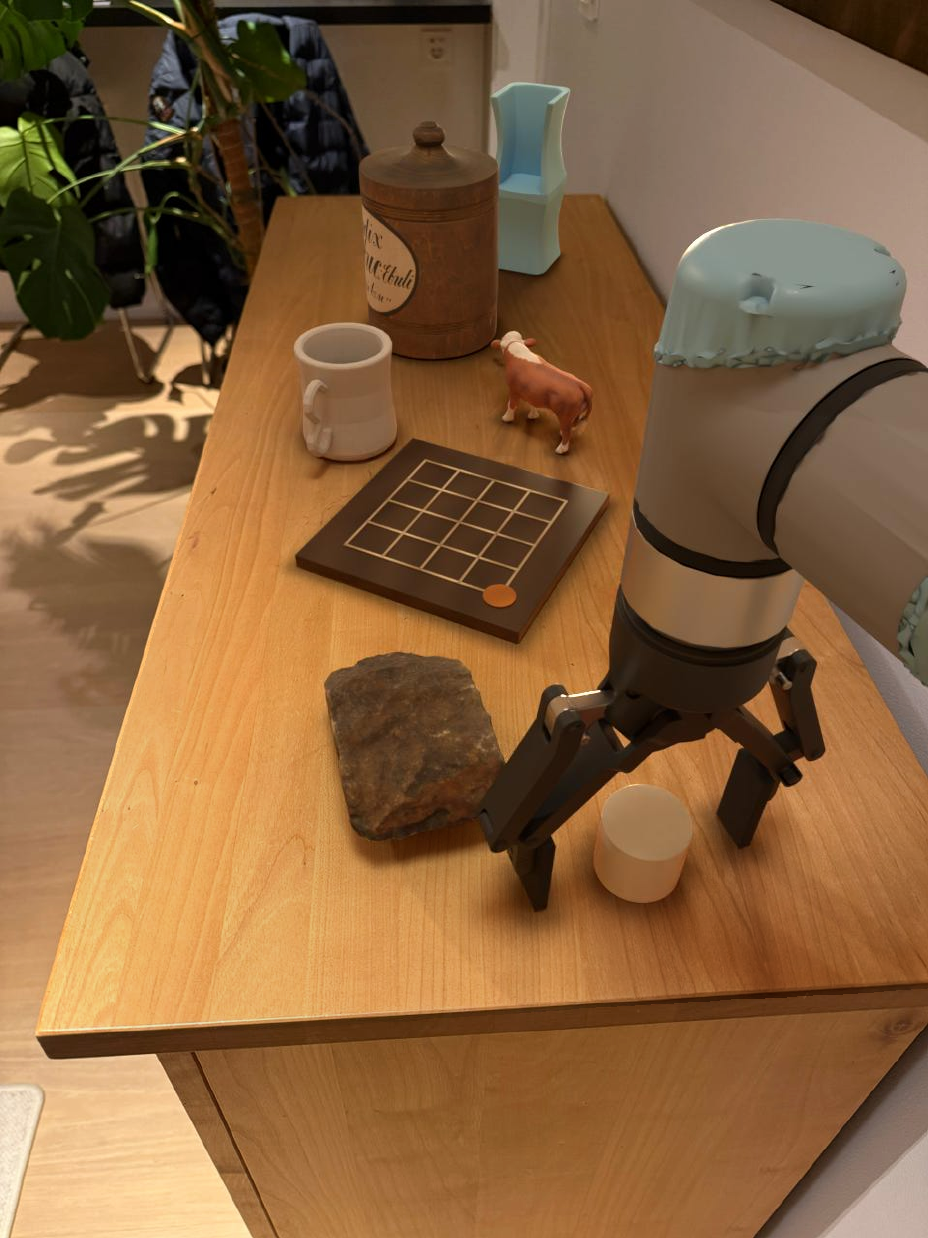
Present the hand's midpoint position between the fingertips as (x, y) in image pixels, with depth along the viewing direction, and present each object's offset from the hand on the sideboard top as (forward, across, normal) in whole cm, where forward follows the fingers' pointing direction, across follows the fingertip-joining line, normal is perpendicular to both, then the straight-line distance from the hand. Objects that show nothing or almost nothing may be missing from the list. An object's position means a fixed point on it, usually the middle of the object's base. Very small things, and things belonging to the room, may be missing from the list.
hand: (635, 859), depth 55 cm
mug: (+1, +6, -50) cm, 50 cm away
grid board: (0, 0, -34) cm, 34 cm away
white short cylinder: (0, 0, 0) cm, 0 cm away
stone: (0, +11, -11) cm, 15 cm away
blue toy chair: (+1, -27, -88) cm, 92 cm away
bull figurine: (+1, -13, -48) cm, 50 cm away
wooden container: (+1, -9, -71) cm, 72 cm away
